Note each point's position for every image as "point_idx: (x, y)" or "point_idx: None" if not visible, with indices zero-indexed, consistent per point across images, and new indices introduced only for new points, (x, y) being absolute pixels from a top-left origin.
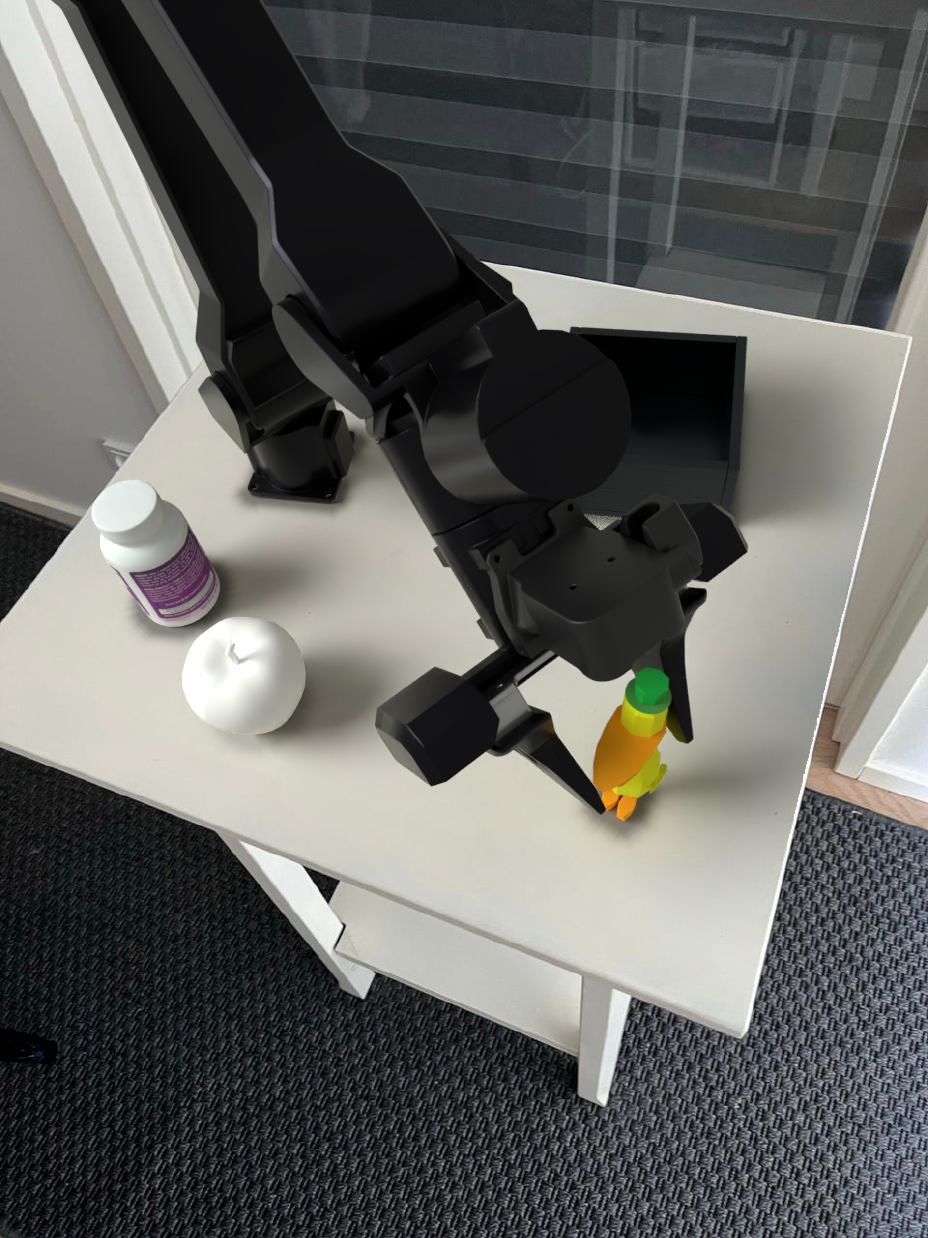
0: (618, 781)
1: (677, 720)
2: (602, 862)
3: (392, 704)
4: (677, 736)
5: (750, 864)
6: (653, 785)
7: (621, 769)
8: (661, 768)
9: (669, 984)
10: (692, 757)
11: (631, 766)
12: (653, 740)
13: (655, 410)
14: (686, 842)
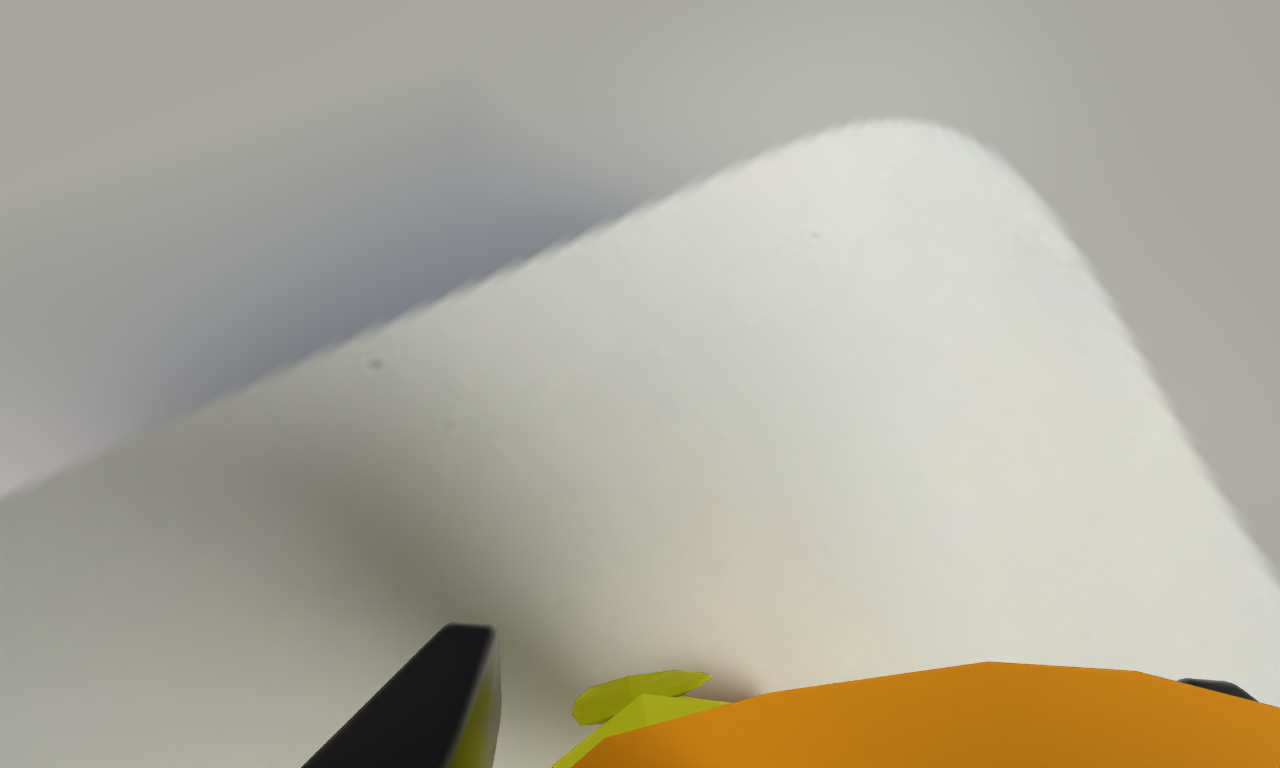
0: (1186, 707)
1: (454, 756)
2: (947, 662)
3: None
4: (494, 713)
5: (575, 312)
6: (686, 682)
7: (1103, 762)
8: (609, 707)
9: (1041, 247)
10: None
11: (1018, 725)
12: (729, 759)
13: None
14: (669, 502)
